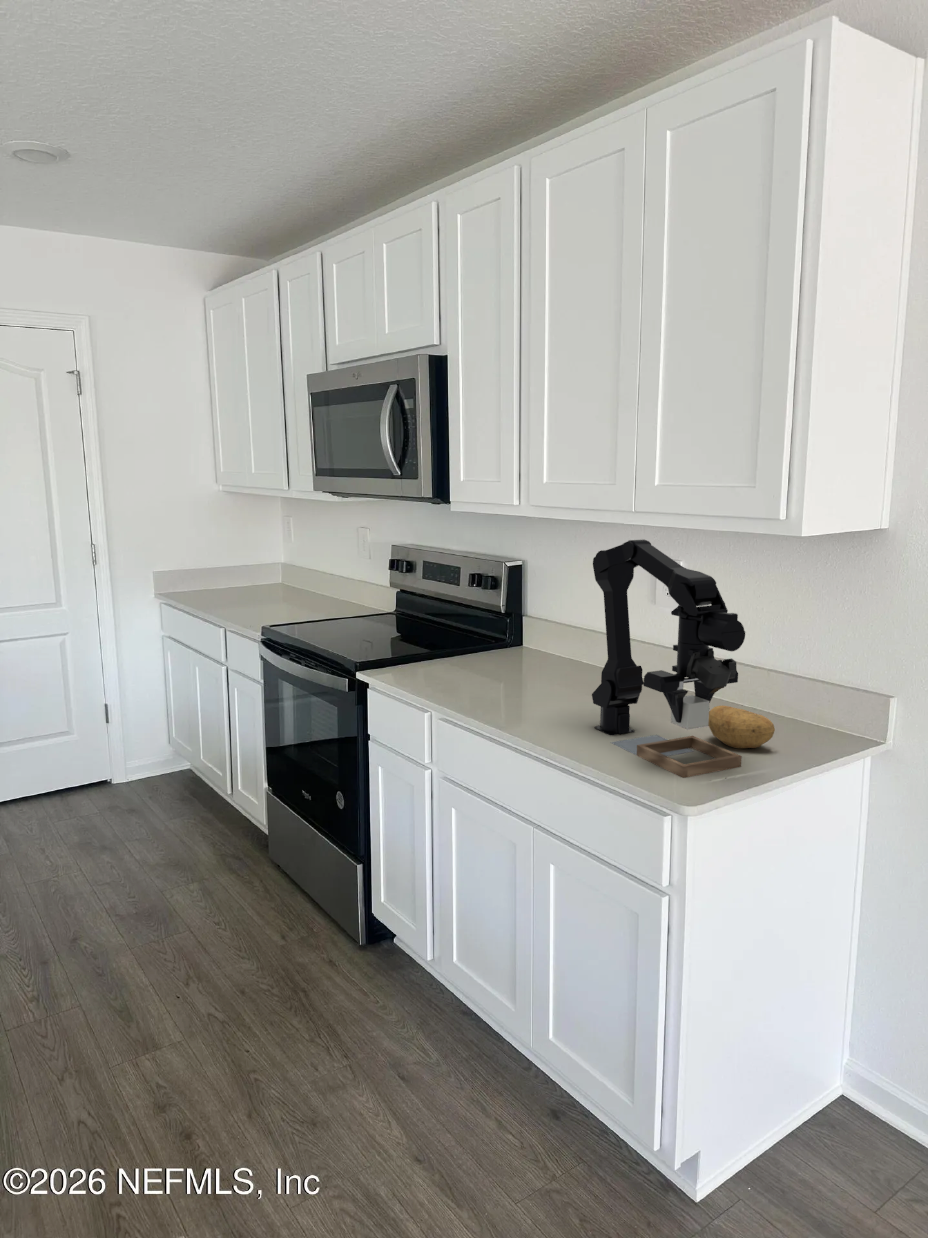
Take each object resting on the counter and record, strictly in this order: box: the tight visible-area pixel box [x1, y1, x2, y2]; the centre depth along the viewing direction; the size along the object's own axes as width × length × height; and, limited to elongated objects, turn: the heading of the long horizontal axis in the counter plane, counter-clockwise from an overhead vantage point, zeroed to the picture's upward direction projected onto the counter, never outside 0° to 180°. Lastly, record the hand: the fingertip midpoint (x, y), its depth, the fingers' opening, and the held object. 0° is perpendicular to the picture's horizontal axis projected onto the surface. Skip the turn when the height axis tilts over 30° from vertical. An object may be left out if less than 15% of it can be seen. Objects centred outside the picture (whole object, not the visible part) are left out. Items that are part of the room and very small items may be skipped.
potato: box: [707, 705, 776, 749], centre depth 177 cm, size 10×14×8 cm
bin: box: [636, 735, 743, 779], centre depth 168 cm, size 14×14×2 cm
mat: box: [610, 734, 694, 760], centre depth 177 cm, size 12×12×1 cm
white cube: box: [670, 694, 711, 730], centre depth 167 cm, size 5×5×5 cm
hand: (689, 720), depth 167 cm, fingers closed on white cube, 5 cm apart
